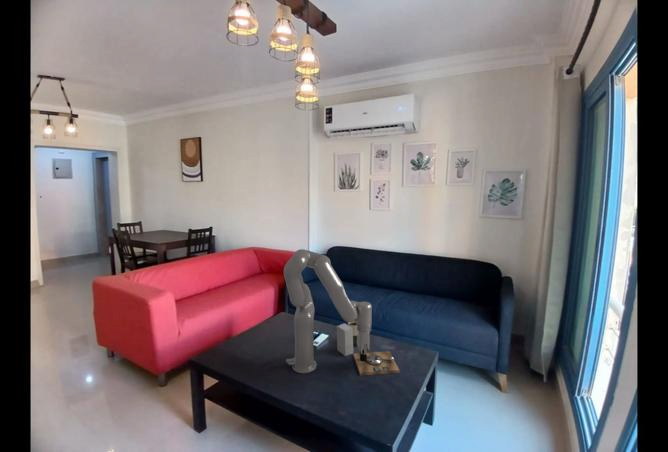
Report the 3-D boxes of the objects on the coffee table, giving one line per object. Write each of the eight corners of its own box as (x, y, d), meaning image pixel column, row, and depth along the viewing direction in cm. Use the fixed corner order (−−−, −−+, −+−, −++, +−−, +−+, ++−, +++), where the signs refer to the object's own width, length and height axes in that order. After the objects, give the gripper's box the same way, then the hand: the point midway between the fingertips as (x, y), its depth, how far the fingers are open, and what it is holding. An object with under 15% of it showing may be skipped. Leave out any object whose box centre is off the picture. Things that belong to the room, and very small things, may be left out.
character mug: (363, 342, 187) (364, 321, 185) (361, 348, 180) (362, 326, 179) (345, 340, 190) (346, 319, 188) (343, 345, 183) (343, 324, 181)
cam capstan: (393, 357, 167) (393, 347, 167) (394, 366, 159) (394, 355, 159) (360, 355, 170) (360, 344, 169) (359, 363, 162) (359, 352, 161)
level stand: (360, 375, 155) (360, 372, 154) (353, 356, 172) (353, 352, 172) (399, 372, 157) (399, 369, 157) (388, 353, 175) (388, 350, 174)
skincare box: (353, 353, 175) (353, 328, 173) (344, 356, 172) (345, 330, 170) (344, 347, 182) (345, 322, 180) (336, 350, 178) (336, 325, 177)
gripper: (354, 320, 166) (353, 353, 169) (359, 333, 151) (358, 369, 154) (368, 320, 167) (367, 352, 169) (374, 333, 152) (373, 368, 154)
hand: (363, 360), depth 161 cm, fingers closed
